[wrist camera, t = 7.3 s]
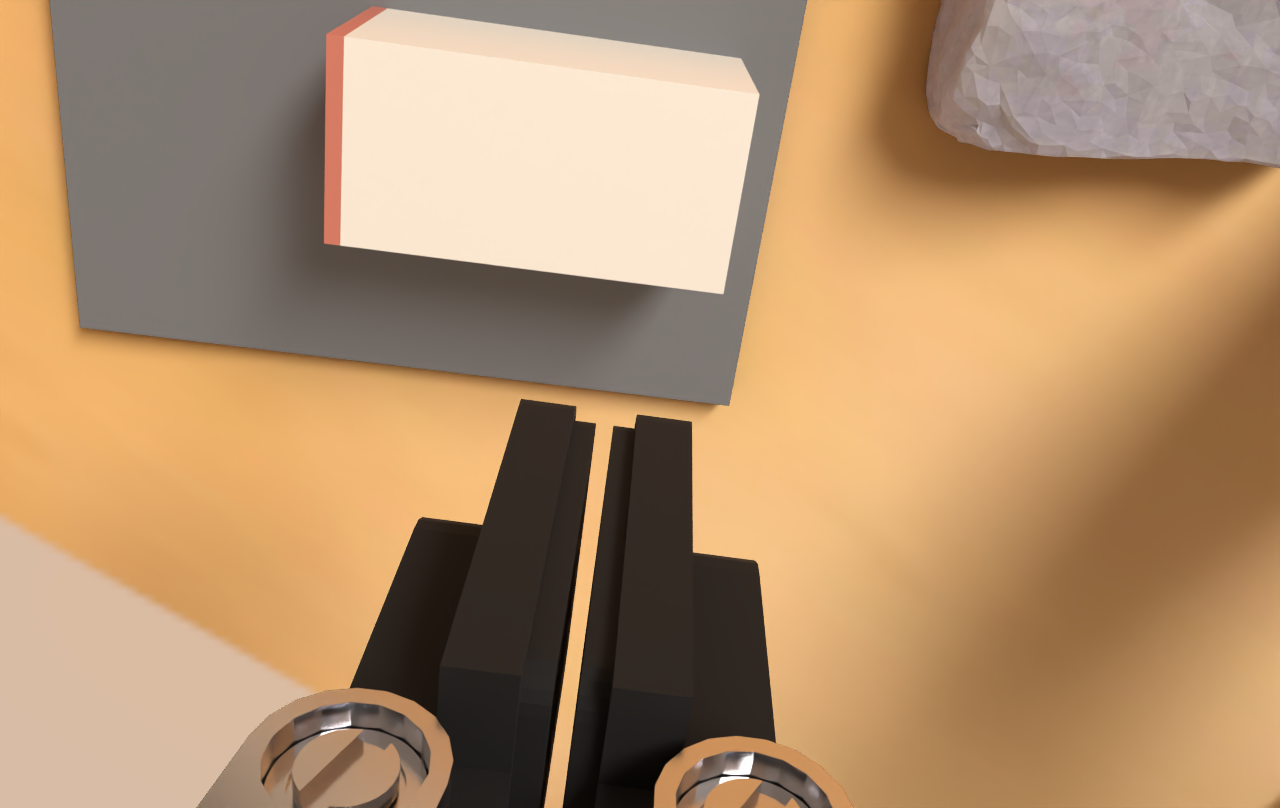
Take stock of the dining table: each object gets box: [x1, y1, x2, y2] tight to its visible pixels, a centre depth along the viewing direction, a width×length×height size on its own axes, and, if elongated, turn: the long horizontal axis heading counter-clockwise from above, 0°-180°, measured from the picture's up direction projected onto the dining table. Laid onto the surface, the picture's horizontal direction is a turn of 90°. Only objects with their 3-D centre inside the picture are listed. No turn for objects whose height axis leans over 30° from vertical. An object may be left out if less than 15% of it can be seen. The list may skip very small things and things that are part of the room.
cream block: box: [324, 6, 760, 294], centre depth 29 cm, size 5×5×10 cm
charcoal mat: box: [50, 0, 807, 406], centre depth 31 cm, size 20×16×1 cm
